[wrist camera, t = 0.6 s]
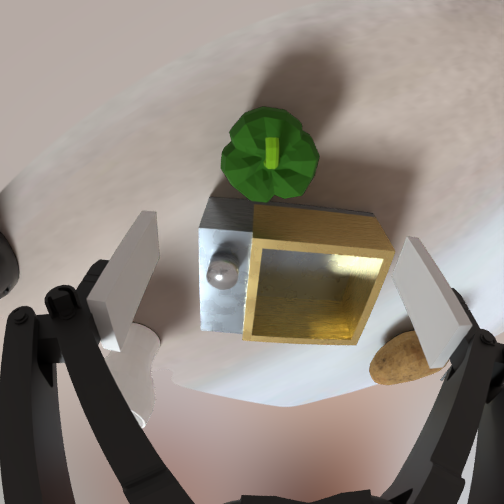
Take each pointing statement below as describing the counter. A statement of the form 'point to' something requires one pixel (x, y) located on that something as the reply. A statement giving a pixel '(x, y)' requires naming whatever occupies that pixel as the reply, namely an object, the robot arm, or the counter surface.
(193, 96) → the counter surface
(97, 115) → the counter surface
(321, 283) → the gold open box
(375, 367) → the potato
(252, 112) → the bell pepper
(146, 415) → the cup
